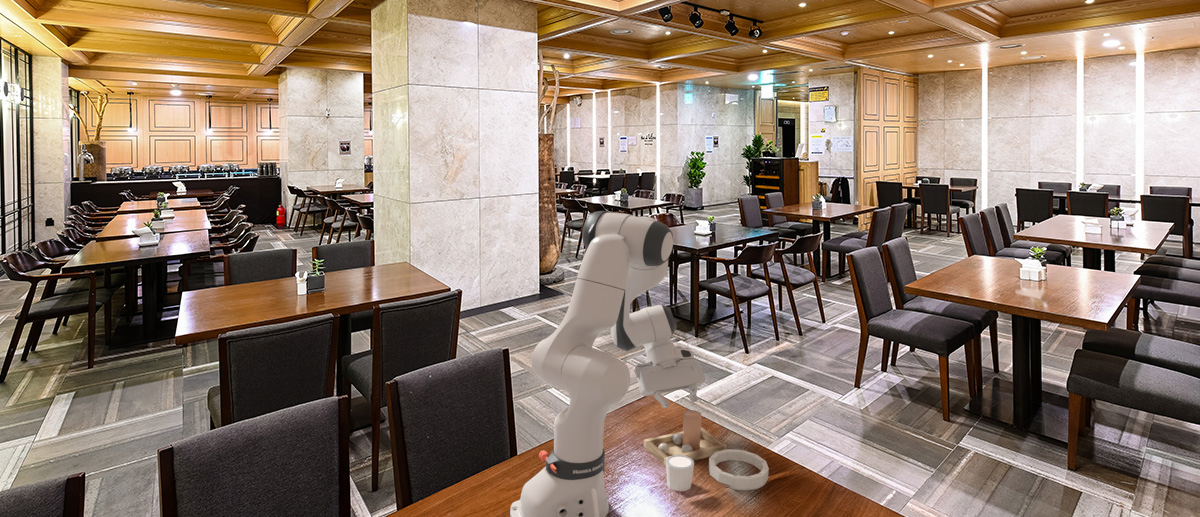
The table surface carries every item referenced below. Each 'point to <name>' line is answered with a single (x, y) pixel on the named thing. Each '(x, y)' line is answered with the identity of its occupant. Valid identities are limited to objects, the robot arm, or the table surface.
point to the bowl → (734, 480)
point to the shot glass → (679, 472)
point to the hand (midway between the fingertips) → (680, 404)
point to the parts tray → (707, 446)
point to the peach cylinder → (692, 429)
